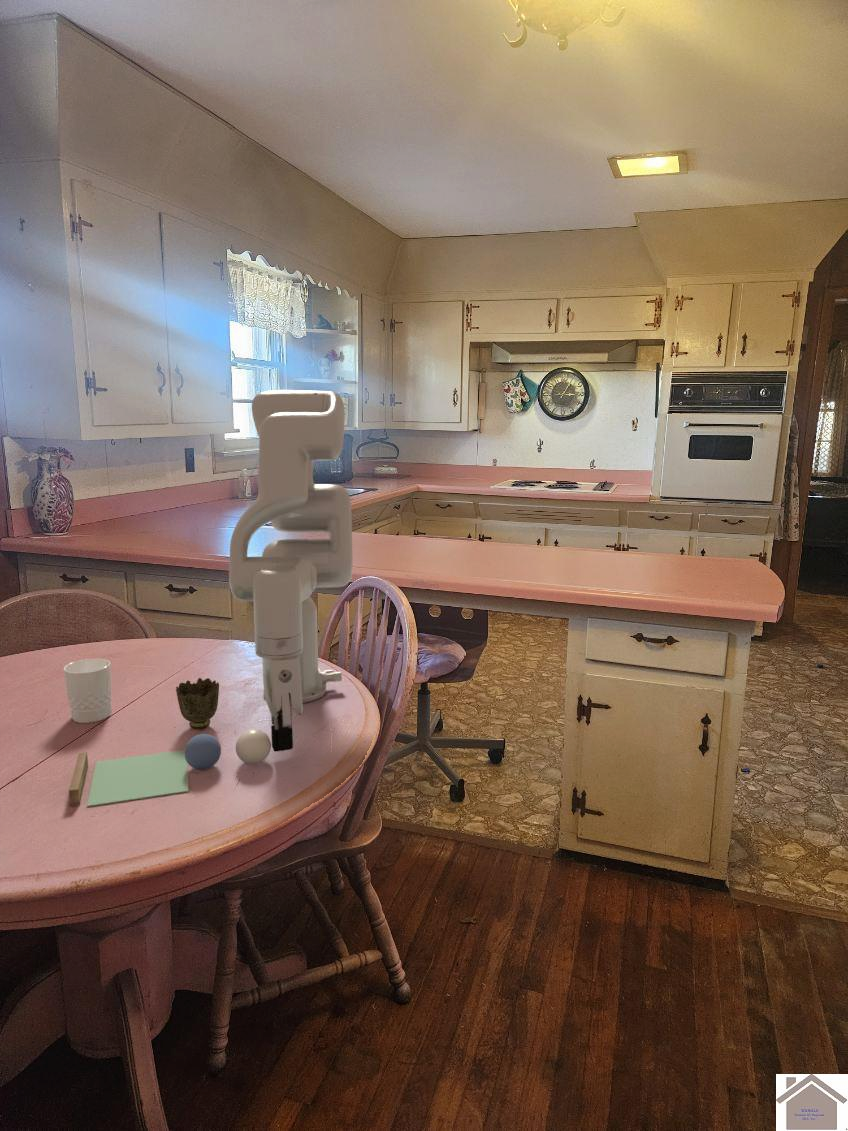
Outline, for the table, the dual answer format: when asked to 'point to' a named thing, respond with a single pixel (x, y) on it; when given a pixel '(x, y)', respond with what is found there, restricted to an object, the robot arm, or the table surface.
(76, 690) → the white cup
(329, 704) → the table surface
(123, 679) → the table surface
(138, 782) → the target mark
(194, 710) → the cup
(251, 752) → the cream ball
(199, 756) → the object ball
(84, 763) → the stop rail
